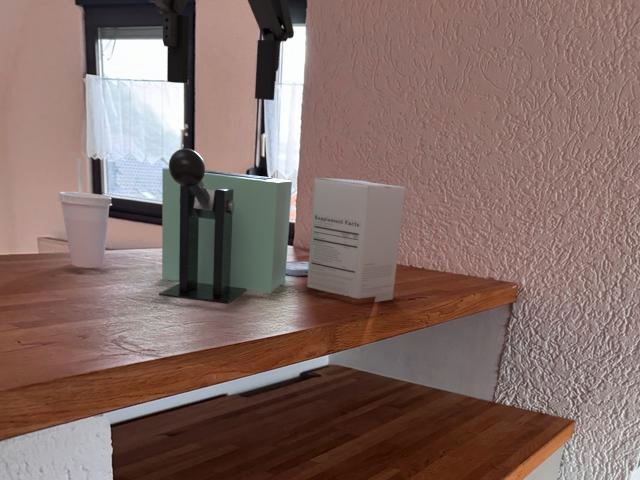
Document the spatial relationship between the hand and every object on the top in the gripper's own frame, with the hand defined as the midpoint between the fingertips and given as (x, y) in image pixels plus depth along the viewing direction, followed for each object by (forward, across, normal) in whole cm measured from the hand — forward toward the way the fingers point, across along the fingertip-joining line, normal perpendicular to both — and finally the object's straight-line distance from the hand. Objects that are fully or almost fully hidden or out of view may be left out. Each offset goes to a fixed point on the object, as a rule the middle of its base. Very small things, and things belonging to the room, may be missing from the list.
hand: (223, 91), depth 88 cm
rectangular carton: (+23, +14, -11) cm, 29 cm away
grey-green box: (+23, +1, 0) cm, 23 cm away
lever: (+12, -12, -10) cm, 19 cm away
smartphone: (+23, +24, +7) cm, 34 cm away
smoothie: (+23, -11, +13) cm, 29 cm away
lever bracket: (+23, -8, -7) cm, 25 cm away
